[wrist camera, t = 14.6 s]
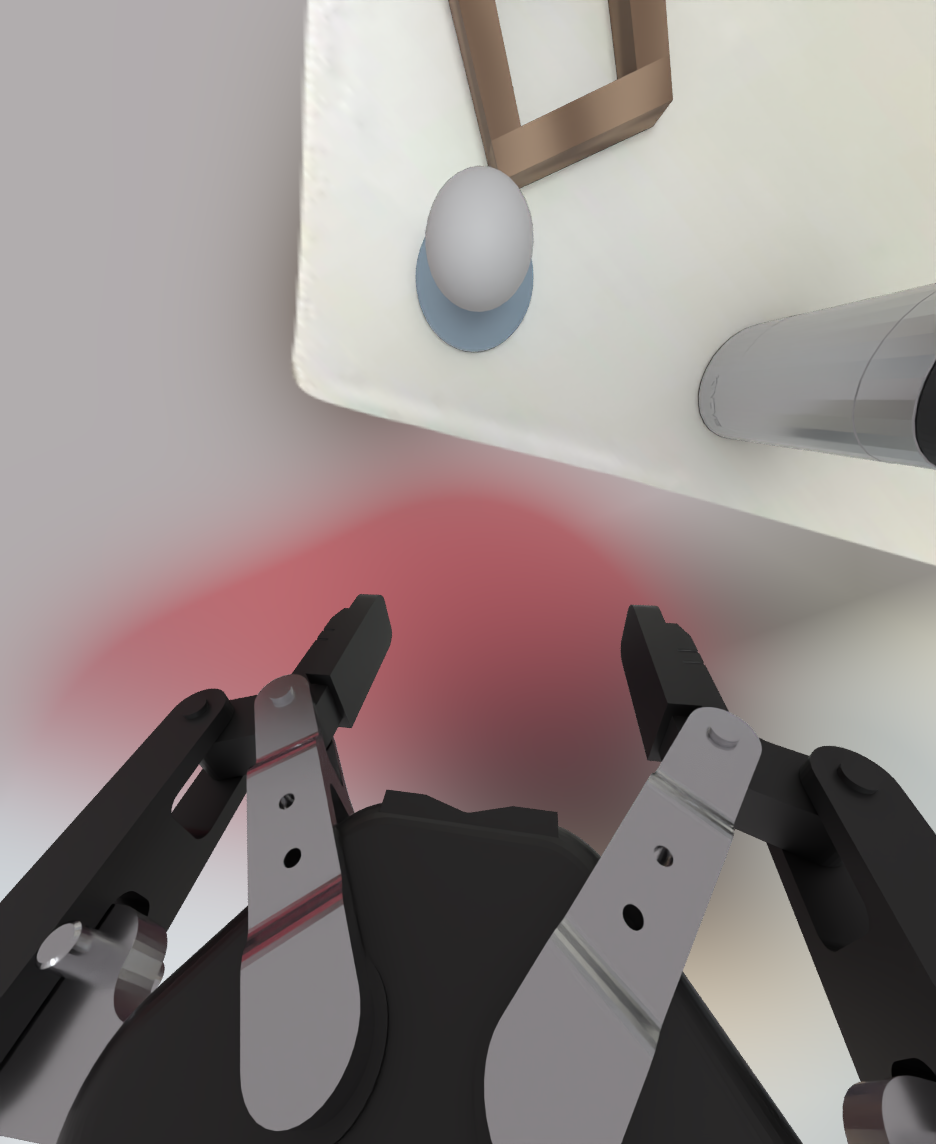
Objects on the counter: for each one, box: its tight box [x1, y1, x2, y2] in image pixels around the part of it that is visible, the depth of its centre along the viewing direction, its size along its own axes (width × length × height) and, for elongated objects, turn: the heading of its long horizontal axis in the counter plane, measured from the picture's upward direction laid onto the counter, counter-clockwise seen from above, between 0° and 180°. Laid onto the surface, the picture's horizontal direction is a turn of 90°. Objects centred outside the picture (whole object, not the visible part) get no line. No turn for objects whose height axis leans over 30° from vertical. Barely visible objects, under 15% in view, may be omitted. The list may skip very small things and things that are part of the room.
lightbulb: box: [425, 166, 533, 312], centre depth 23 cm, size 6×6×11 cm
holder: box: [448, 0, 673, 188], centre depth 22 cm, size 12×12×2 cm
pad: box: [416, 238, 533, 352], centre depth 28 cm, size 9×9×1 cm
